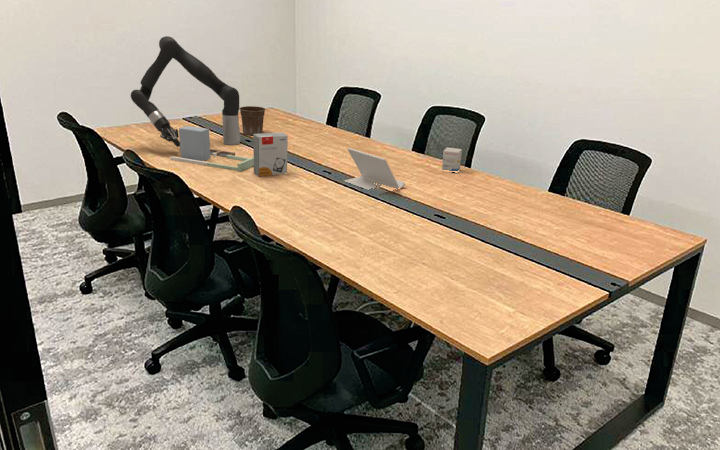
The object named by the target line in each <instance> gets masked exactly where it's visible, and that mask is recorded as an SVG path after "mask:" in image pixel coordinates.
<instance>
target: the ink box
mask: <svg viewBox="0 0 720 450" xmlns="http://www.w3.org/2000/svg"><path fill="white" fill-rule="evenodd" d="M462 153H463V149H461V148H455V147H446V148H445V149H443V153H442V154H443V155H442V163H441V164H442V166H441V171H442V170H449V171H458V170H459V169H460V170H461V162H462Z"/></svg>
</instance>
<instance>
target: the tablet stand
mask: <svg viewBox="0 0 720 450" xmlns="http://www.w3.org/2000/svg"><path fill="white" fill-rule="evenodd" d="M347 151H348V153H349V154H350V156H351V158H352V160H353V162H354V164H355V165H356V168H357V169H358V171H359V173H360V175H361V176H358V177H353V178H350V179H345V180H343V182H344V181H345V182H348V183H351V184H353V185H356V186H359V187H362V188H364V189H367V190H369V189H371V188H373V189H374V188H375V187H376V186H377V188H379V187H380V186H381V185H382V184H383V185H386V186H389V187H393V188H396V189H398V188H399V187H400V188H402V187H403V188H404V187H405V185H406V182H404V181H401V180H399V179H396V177H395V175H394V173H393V172H392V170H391V168H390V165H389V163H388V162H387V160H386V159H385V158H383V157H381V156H377V155H374V154H370V153H367V152H365V151H361V150H358V149H354V148H351V147H348V148H347ZM345 182H344V183H345ZM348 183H347V184H348ZM374 183H375V184H374ZM376 183H377V185H376ZM379 184H380V185H379ZM353 185H352V186H353ZM356 186H355V187H356ZM403 188H402V189H403ZM364 189H363V190H364ZM367 190H366V191H367Z"/></svg>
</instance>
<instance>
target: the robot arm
mask: <svg viewBox="0 0 720 450" xmlns="http://www.w3.org/2000/svg"><path fill="white" fill-rule="evenodd" d="M158 46H159V52H158V56H157V57H156V59H155V60H154V62H153V63H151V65H150V66H149V67H148V69H147V70H146V71H145V73H144V75H143V77H142V78H141V80H140V85H141V86H140V89H133V90H132V91H131V93H130V99H131V101H132V102H133V104H135V106H137V107H138V108H139V109H140V110H141V111H143V113H144V114H145V116H146V117H147V118H148V119H149V122H150V123H151V124H152V125H153V126H154V128H155V129H156V130H157V131H158V132H160V136H159V137H160V138H161V139H164V140H166V141H168V142H169V143H170V142H172V143H173V144H174V146H176V147H177V148H180V140H179V128H178V129H177V128H176V129H174V127H173V126H171V122H170V121H169V120H168V119H167V118H166V116H165V115H164V114H163V112H161V111H160V109H159V108H158V107H157V106H156V105H155V103H153V102H151V101H150V99H151V95H152V92H153V89H154V87H155V85H156V84H157V82H158V81H159V79H160V77H161V75H162V74H163V72H164V70H165V69H166V67H167V66H168V65H169V63H170V62H171V61H172V60H175V61H176V62H178V63H179V64H180V65H181V66H182V67H183V69H185V71H186V72H187V73H189V74H190V75H191V76H192V77H194V78H195V79H196V80H197V81H199V82H200V83H201V84H203V85H205V86H206V87H208V88H209V89H211V91H213V92H214V93H215V94H216V95H217V96H218V97H219V98H220V99H221V100H222V101H223V109H222V110H221V115H222V117H221V118H222V139H223V144H224V145H228V146H236V145H239V144H240V143H241V132H240V131H241V129H240V121H239V111H240V109H239V108H240V93H239V90H238V89H237V88H235V87H233V86H230V85H228V84H227V83H225V81H222V80H221V79H220V78H219V77H218V76H217V75H216V74H215V73H214V72H213V70H212V69H211V68H210V67H209V66H207V65H206V64H205V63H203V61H202V60H200V59H199V58H197V57H196V56H194V55H193V54H191V53H190V52H188V51H186V50H185V49H184V48H183V47H182V46H181V45H180V44H179V43H178V42H177V40H176V39H175V38H173V37H172V36H163V37H161V38H160V39H159V41H158Z"/></svg>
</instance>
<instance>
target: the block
mask: <svg viewBox="0 0 720 450" xmlns="http://www.w3.org/2000/svg"><path fill="white" fill-rule="evenodd" d="M178 135H179V137H178V139H179V142H180V146H179V148H180V149H179V151H180V158H186V159H192V160H198V161H204V162H206V161H207V160H210V159H211V156H212V155H210V149H211V143H210V128H206V127H204V128H203V127H198V126H189V125H186V126H182V127H180V128H178Z"/></svg>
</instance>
